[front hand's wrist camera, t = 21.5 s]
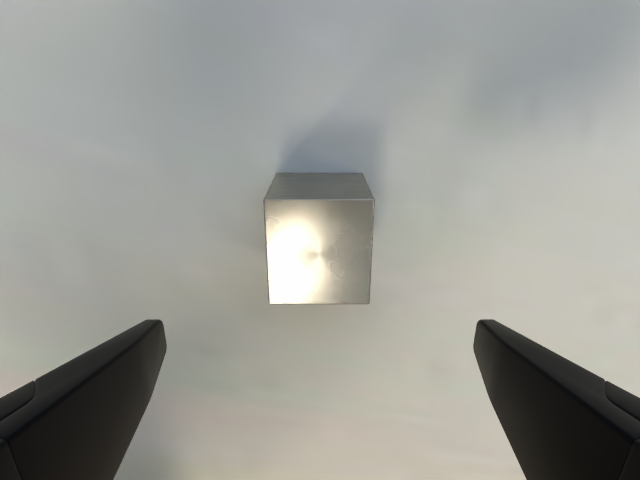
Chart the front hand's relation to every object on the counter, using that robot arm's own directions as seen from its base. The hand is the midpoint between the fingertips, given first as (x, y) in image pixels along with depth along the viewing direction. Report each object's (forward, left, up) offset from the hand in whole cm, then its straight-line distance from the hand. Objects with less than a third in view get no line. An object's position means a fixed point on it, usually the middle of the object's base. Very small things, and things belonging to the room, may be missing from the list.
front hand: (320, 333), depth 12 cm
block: (0, 0, -10) cm, 10 cm away
